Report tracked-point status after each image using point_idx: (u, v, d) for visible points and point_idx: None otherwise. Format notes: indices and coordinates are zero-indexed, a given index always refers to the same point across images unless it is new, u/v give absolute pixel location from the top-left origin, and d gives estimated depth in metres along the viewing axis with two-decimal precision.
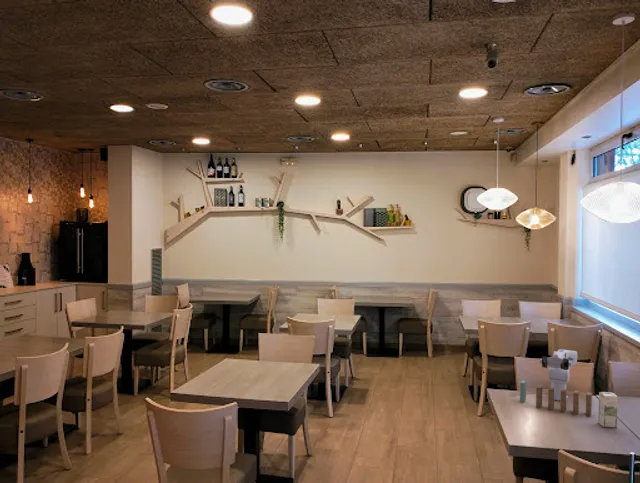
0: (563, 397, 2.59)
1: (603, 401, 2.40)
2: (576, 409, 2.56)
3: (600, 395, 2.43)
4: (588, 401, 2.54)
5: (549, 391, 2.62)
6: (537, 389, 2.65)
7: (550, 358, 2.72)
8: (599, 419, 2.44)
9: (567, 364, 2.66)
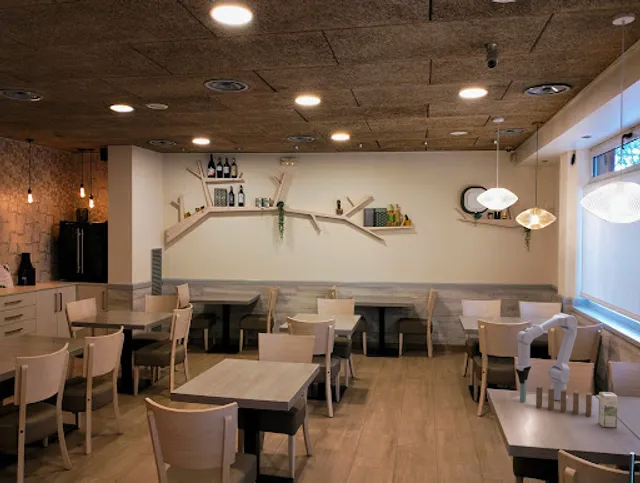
0: (563, 397, 2.59)
1: (603, 401, 2.40)
2: (576, 409, 2.56)
3: (600, 395, 2.43)
4: (588, 401, 2.54)
5: (549, 391, 2.62)
6: (537, 389, 2.65)
7: None
8: (599, 419, 2.44)
9: (521, 371, 2.71)
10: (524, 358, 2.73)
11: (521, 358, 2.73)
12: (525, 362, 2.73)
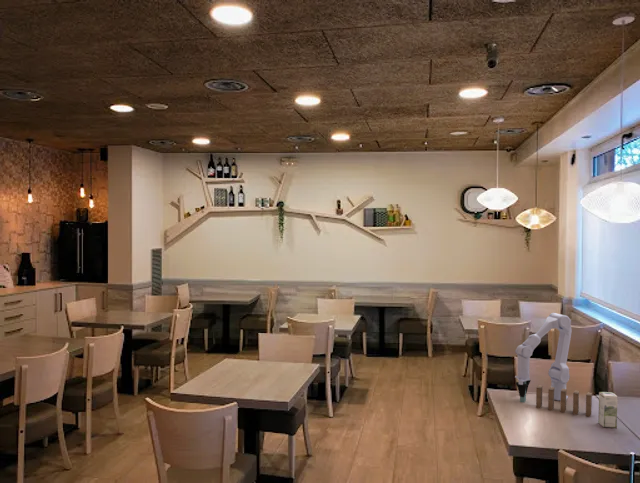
0: (563, 397, 2.59)
1: (603, 401, 2.40)
2: (576, 409, 2.56)
3: (600, 395, 2.43)
4: (588, 401, 2.54)
5: (549, 391, 2.62)
6: (537, 389, 2.65)
7: None
8: (599, 419, 2.44)
9: (521, 384, 2.72)
10: (524, 372, 2.73)
11: (521, 371, 2.74)
12: (525, 376, 2.73)
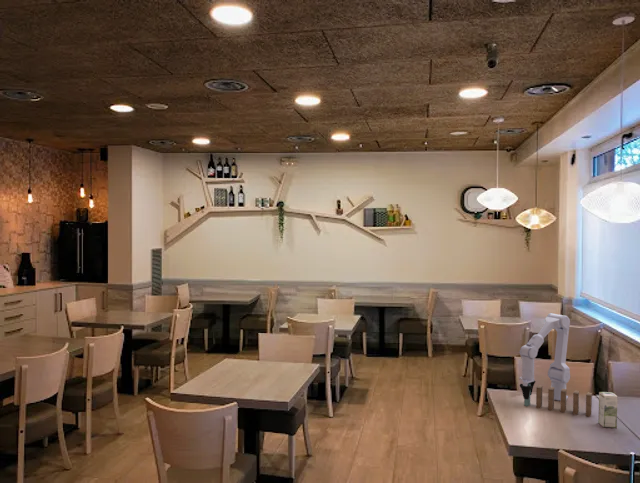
0: (563, 397, 2.59)
1: (603, 401, 2.40)
2: (576, 409, 2.56)
3: (600, 395, 2.43)
4: (588, 401, 2.54)
5: (549, 391, 2.62)
6: (537, 389, 2.65)
7: None
8: (599, 419, 2.44)
9: (525, 386, 2.65)
10: (528, 373, 2.67)
11: (525, 373, 2.68)
12: (529, 377, 2.67)
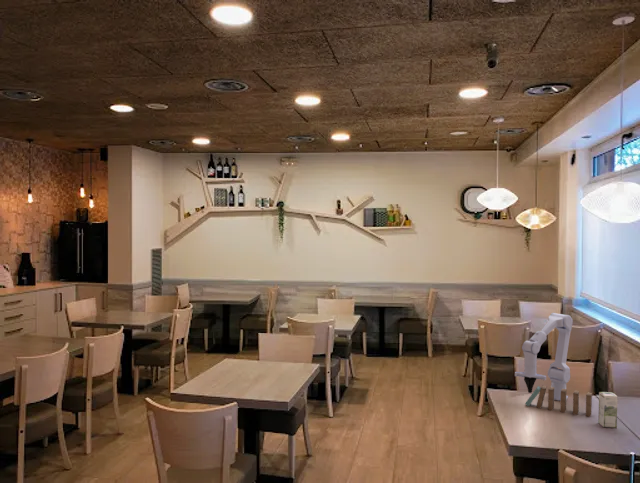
0: (563, 397, 2.59)
1: (603, 401, 2.40)
2: (576, 409, 2.56)
3: (600, 395, 2.43)
4: (588, 401, 2.54)
5: (549, 391, 2.62)
6: (541, 389, 2.64)
7: (524, 375, 2.69)
8: (599, 419, 2.44)
9: None
10: (536, 367, 2.68)
11: (536, 368, 2.67)
12: None
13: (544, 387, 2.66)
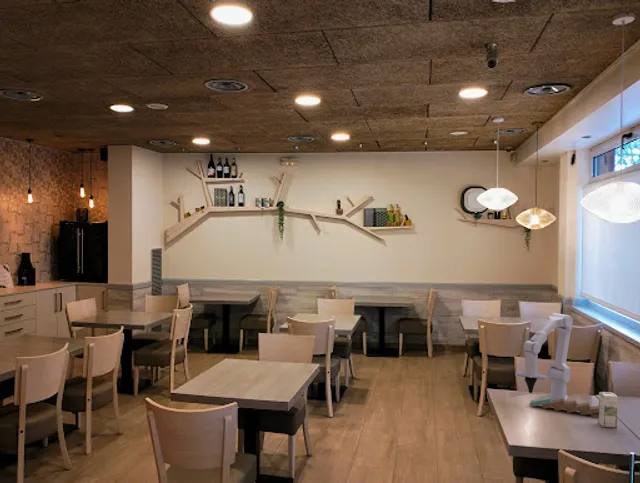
0: (582, 408, 2.55)
1: (603, 401, 2.40)
2: (585, 413, 2.54)
3: (600, 395, 2.43)
4: None
5: (572, 404, 2.57)
6: (560, 402, 2.60)
7: (525, 375, 2.69)
8: (599, 419, 2.44)
9: None
10: None
11: (536, 368, 2.67)
12: None
13: (564, 402, 2.61)
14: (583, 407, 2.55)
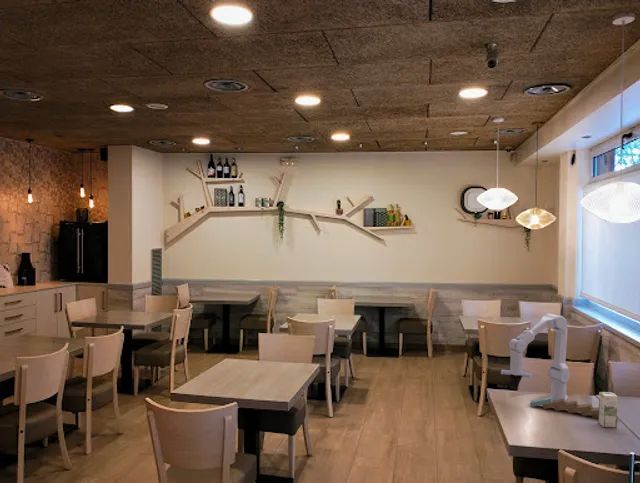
0: (583, 409, 2.54)
1: (603, 401, 2.40)
2: (587, 414, 2.53)
3: (600, 395, 2.43)
4: None
5: (573, 404, 2.57)
6: (561, 402, 2.60)
7: (510, 373, 2.72)
8: (599, 419, 2.44)
9: None
10: None
11: (521, 366, 2.71)
12: None
13: (564, 402, 2.61)
14: (584, 408, 2.54)
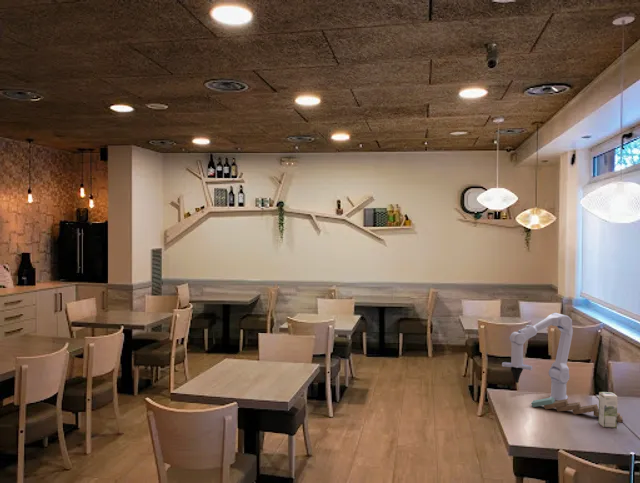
0: (588, 410, 2.52)
1: (603, 401, 2.40)
2: None
3: (600, 395, 2.43)
4: None
5: (575, 406, 2.56)
6: (563, 403, 2.59)
7: (511, 366, 2.76)
8: (599, 419, 2.44)
9: None
10: None
11: (522, 358, 2.74)
12: None
13: (566, 403, 2.60)
14: (589, 409, 2.52)
